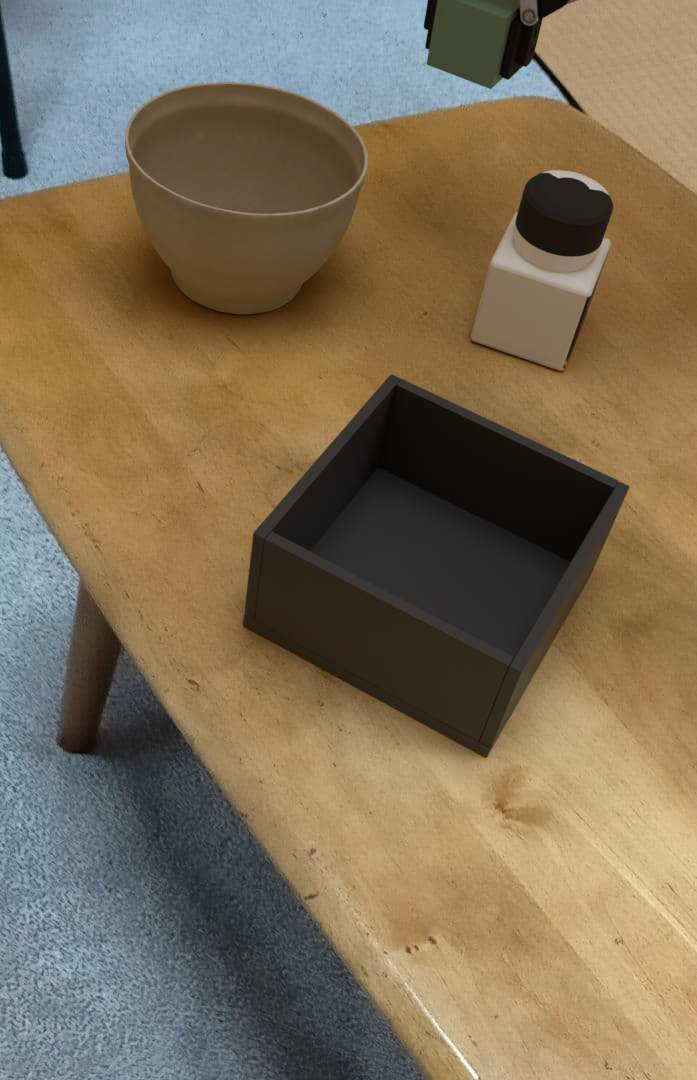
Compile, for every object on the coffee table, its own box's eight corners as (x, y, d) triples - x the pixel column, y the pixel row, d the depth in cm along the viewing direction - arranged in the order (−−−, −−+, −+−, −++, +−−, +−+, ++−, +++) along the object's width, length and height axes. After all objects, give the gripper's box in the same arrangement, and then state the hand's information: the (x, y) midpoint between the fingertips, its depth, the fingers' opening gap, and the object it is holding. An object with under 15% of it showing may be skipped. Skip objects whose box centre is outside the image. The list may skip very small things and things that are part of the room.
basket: (590, 575, 76) (630, 485, 70) (486, 758, 66) (521, 672, 60) (371, 467, 79) (391, 373, 73) (242, 626, 70) (252, 532, 64)
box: (520, 61, 87) (536, -9, 83) (491, 89, 84) (506, 18, 80) (457, 38, 88) (470, -33, 85) (426, 64, 85) (438, -7, 81)
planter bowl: (364, 348, 87) (387, 217, 79) (130, 348, 84) (130, 211, 75) (331, 212, 97) (349, 83, 89) (121, 208, 94) (120, 74, 86)
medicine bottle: (563, 374, 88) (612, 232, 79) (468, 342, 89) (506, 198, 80) (585, 318, 92) (634, 178, 83) (494, 287, 93) (533, 146, 84)
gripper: (691, -212, 72) (607, 78, 86) (434, -291, 77) (392, -2, 90) (649, -179, 68) (566, 122, 81) (377, -265, 72) (342, 35, 86)
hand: (475, 54), depth 86 cm, fingers closed on box, 5 cm apart
